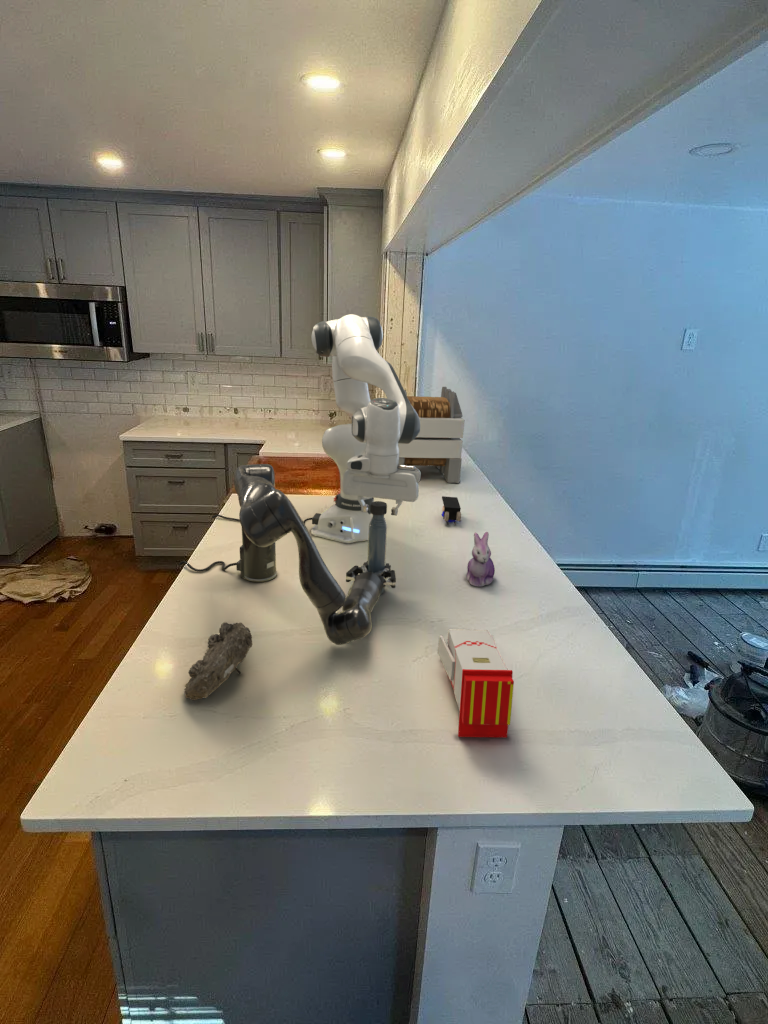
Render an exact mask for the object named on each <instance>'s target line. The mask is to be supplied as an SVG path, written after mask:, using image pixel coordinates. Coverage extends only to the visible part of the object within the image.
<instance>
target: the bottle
mask: <svg viewBox="0 0 768 1024" xmlns="http://www.w3.org/2000/svg"><path fill="white" fill-rule="evenodd" d="M387 535H388V524H387V521H386V518H385V515H373V516H372V518H371V521H370V523H369V530H368V540H367V559H366V562H367V571H368V572H372V573H375V572H378V571H379V570H383V569H384V568H385V565H386V559H387V556H386V555H387V537H388V536H387ZM384 592H385V587H383V588H382V591H381V593H380V595H383V594H384Z"/></svg>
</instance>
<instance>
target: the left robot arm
mask: <svg viewBox="0 0 768 1024" xmlns="http://www.w3.org/2000/svg"><path fill="white" fill-rule="evenodd" d="M274 470H275V469H274V467H273V466H272V465H271V464H269V463H255V464H254V463H252V464H241V465H239V466H237V467H236V468H235V471H234V474H233V486H234V490H235V493H236V495H237V498H238V504H239V508H240V509H239V514H238V515H239V516H238V519H240V521H239V523H240V526H241V543H242V545H241V546H239V560H238V561H236V562H233V563H229V564H227V565H226V563H225V561H222V560H218V561H214V562H212V563H211V564H210V565H208V566H207V567H205V568H201V569H200V568H195V567H193V566H192V565H191V564H190V563H189V562H188V561H186V560H182V561H180V562H179V563H178V565H179V566H180V565H183V564H185V565H186V564H187V563H188V564H187V565H186V566H187V567H188V568H189V569H191V570H192V571H194V572H197V573H202V572H203V573H204V572H206V571H208V570H210V569H211V568H213V567H214V566H215V565H218V564H221V570H222V571H225V570H227V569H229V568H230V567H233V566H236V571H238V572H240V578H241V579H244V580H246V581H248V582H253V583H265V582H268V581H269V582H270V581H271V580H274V579H275V578H276V577H277V554H276V553H277V551H276V542H277V541H279V540H281V539H282V538H284V537H285V536H287V535H288V534H289V533H292V535H293V537H294V538H295V541H296V544H297V551H298V576H299V578H298V579H299V583H300V586H301V588H302V590H303V593H304V594H305V595H306V597H307V598H308V599H309V601H310V602H311V603H312V605H313V606H314V608H315V609H316V610H317V614H318V615H319V617H320V618H319V619H320V621H321V623H322V627H323V630H324V633H325V636H326V638H327V639H328V641H330V643H332V644H334V645H336V646H342V645H346V644H348V643H350V642H354V641H357V640H360V639H363V638H364V637H365V638H366V636H368V635H369V634H370V632H371V631H372V628H373V623H372V611H373V609H374V607H375V606H376V604H377V603H378V600H379V598H380V595H381V594H380V593H381V591H382V588H383V587H384V588H385V587H386V586H389V587H390V588H391V589H396V587H397V586H396V585H397V576H396V571H395V570H394V569H392V566H391V564H390V563H389V562H385V568H384V569H383V570H379V571H378V572H375V573H372V572H368V571H367V561H364V562H363V563H362V565H360V566H359V565H353V566H352V567H351V568H350V569H349V570H347V571H346V572H345V582H346V583H350V582H352V584H351V586H350V588H349V589H348V592H347V595H346V594H345V591H344V589H342V587H341V586H340V584H339V582H338V581H337V580H336V578H335V576H334V575H333V574H332V573H331V571H330V569H329V568H328V566H327V565H326V563H325V561H324V559H323V557H322V555H321V553H320V551H319V549H318V547H317V545H316V543H315V541H314V540H313V538H312V535H311V534H310V532H309V530H308V527H306V524H305V525H304V523H303V521H304V520H303V519H302V518H301V516H300V514H299V512H298V510H297V509H296V507H295V506H294V504H293V503H292V501H291V500H290V498H289V497H288V496H287V495H286V494H285V493H284V492H283V491H281V490H280V489H278V488H277V489H276V476H275V475H276V474H275V471H274ZM340 609H341V611H340V612H338V611H339V610H340Z"/></svg>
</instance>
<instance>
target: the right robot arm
mask: <svg viewBox="0 0 768 1024" xmlns="http://www.w3.org/2000/svg"><path fill="white" fill-rule="evenodd" d="M310 338H311V343H312V347H313V349H314V351H315V353H316V354H317V355H318V356H319V357H326V358H327V357H328V358H330V357H331V358H332V360H331V371H332V372H331V374H332V383H333V391H334V397H335V404H336V406H337V408H338V409H339V410H340V411H342V412H344V413H346V415H348V416H349V418H350V420H351V423H345V424H337V425H335V426H332V427H330V428H327V429H325V431H324V432H323V435H322V437H321V447H322V449H323V451H324V453H325V455H326V456H328V457H329V458H330V459H332V460H333V461H334V463H335V465H336V466H337V470H338V472H339V482H340V484H339V485H340V488H339V489H340V490H339V491H338V492H337V494H336V495H335V496H334V497H333V502H334V504H333V505H331V506H329V507H328V508H326V509H325V510H323V512H321V513H318V512H316V513H315V514H314V515H313V516H312V517H308V518H305V519H304V520H302V521H303V523H304V525H305V526H306V522H307V521H311V525H313V526H312V528H311V530H310V533H311V534H310V535H311V536H315V537H319V538H323V539H326V540H330V541H336V542H339V543H343V544H352V543H357V542H365V541H368V530H369V523H370V521H371V518H372V516H373V514H371V512H370V505H371V503H372V502H374V501H375V499H383V500H390V501H391V500H392V501H395V504H396V506H393V507H392V508H391V510H390V511H391V513H390V515H391V516H395V517H397V516H398V512H399V508H400V507H401V505H402V503H403V502H408V503H409V502H411V503H414V502H416V501H417V500H418V498H419V496H420V488H419V487H420V486H419V483H420V481H421V477H422V473H421V471H420V469H419V468H417V466H407V465H399V464H398V463H399V448H398V443H402V444H409V443H410V442H412V441H413V440H414V439H415V438H416V437H417V435H418V434H419V432H420V419H419V416H418V414H417V412H416V411H415V409H414V408H413V407H412V405H411V404H410V402H409V400H408V398H407V396H408V395H406V393H407V392H406V393H405V391H404V390H405V389H404V387H403V385H402V383H401V380H400V379H399V377H398V374H397V373H396V370H395V368H394V367H393V365H392V364H391V363H390V362H389V361H387V360H385V358H383V357H382V355H381V354H380V353H379V352H378V350H379V349H380V347H381V346H382V345H383V344H382V343H383V339H384V329H383V326H382V324H381V322H380V320H379V319H378V317H375V316H369V315H366V316H360V315H358V314H353V313H351V314H346V315H343V316H342V317H340V318H336V319H332V320H327V321H325V320H322V321H320V322H316V323H315V325H313V327H312V332H311V337H310ZM368 384H369V385H372V386H375V387H376V388H379V389H380V390H381V391H383V393H384V394H385V396H386V397H376V398H372V399H371V397H370V391H369V385H368ZM211 518H212V519H215V518H222V519H224V520H231V521H235V522H240V519H239V518H235V517H234V518H233V517H230V516H224V515H221V514H214V515H212V516H211Z"/></svg>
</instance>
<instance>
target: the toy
mask: <svg viewBox="0 0 768 1024" xmlns="http://www.w3.org/2000/svg"><path fill="white" fill-rule="evenodd" d="M446 640H447V643H446V641H445V639H444V636H443V635H442V634H439V637H438V646H437V656H438V657H439V659H440V661H441V663H442V666H443V668H444V670H445V672H446V674H447V677H448V679H449V681H450V684H451V687H452V690H453V693H454V697H455V701H456V705H457V708H458V711H459V714H458V715H459V716H458V730H457V731H458V732H457V737H458V738H508V731H509V726H510V725H511V717H512V707H513V697H514V696H513V695H514V684H515V680H514V679H513V673H514V671H513V670H512V669H508V667H507V665H506V662H505V661H504V659H503V658H502V655H501V653H500V651H499V649H498V647H497V643H496V639H495V637H494V635H493V634H491V632H490V631H489V629H467V628H466V629H465V628H463V629H461V628H460V629H459V628H448V630H447V639H446Z"/></svg>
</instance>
